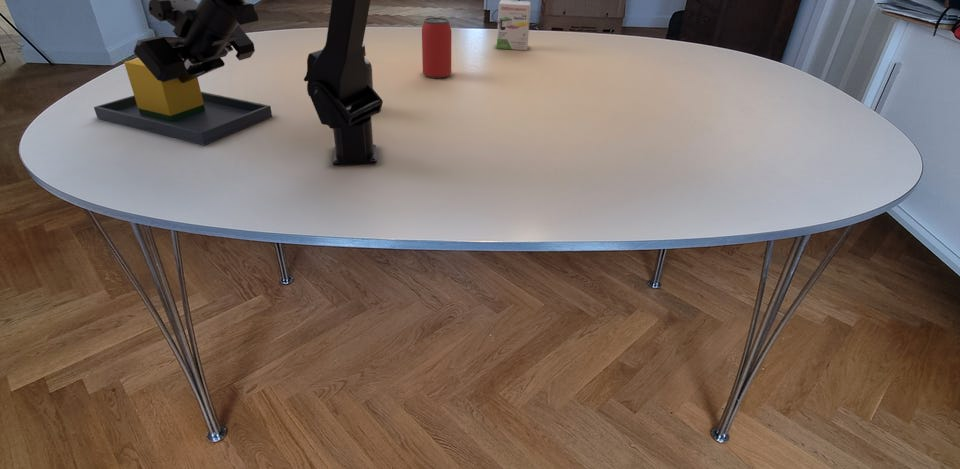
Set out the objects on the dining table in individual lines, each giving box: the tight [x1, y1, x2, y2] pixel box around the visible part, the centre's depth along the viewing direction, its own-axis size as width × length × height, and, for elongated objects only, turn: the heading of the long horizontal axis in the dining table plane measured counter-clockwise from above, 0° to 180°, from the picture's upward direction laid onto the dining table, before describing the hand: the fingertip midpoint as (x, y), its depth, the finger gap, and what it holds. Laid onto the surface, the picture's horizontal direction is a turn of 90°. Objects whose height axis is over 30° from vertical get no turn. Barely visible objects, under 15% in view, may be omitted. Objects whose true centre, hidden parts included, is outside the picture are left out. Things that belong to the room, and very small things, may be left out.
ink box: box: [496, 0, 532, 51], centre depth 147 cm, size 8×5×12 cm, turn 84°
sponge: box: [123, 58, 205, 121], centre depth 94 cm, size 8×7×9 cm
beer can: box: [421, 17, 452, 79], centre depth 122 cm, size 7×7×12 cm
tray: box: [93, 91, 273, 146], centre depth 96 cm, size 25×15×2 cm, turn 66°
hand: (182, 80), depth 92 cm, fingers closed, pressing on sponge
